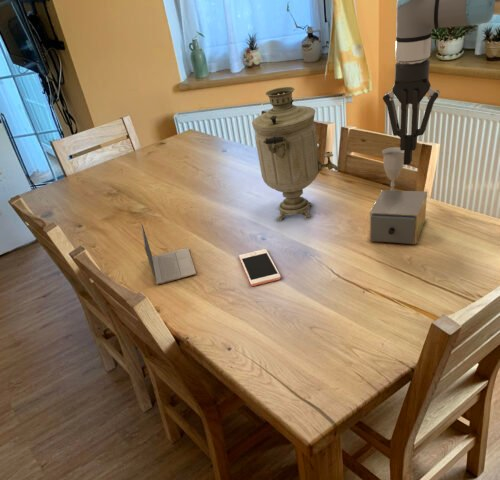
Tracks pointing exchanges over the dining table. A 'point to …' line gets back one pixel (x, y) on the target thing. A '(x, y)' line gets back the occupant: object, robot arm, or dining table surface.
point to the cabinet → (402, 207)
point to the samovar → (288, 150)
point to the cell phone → (259, 267)
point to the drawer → (392, 228)
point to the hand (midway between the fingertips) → (407, 162)
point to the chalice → (393, 163)
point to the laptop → (169, 263)
